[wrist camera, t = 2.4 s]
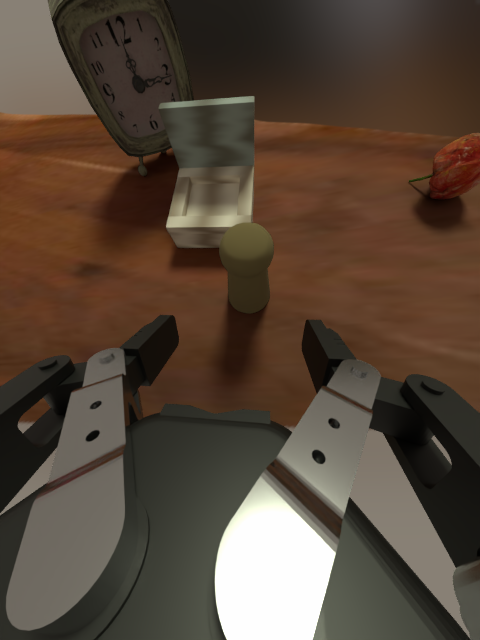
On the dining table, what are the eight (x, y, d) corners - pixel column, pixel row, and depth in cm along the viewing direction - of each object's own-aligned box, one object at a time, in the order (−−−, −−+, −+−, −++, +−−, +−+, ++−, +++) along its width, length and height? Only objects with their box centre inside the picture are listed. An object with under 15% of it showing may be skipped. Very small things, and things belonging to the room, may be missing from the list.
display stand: (254, 186, 32) (254, 96, 22) (251, 247, 28) (249, 172, 18) (189, 188, 34) (160, 103, 23) (177, 247, 30) (136, 176, 19)
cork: (237, 320, 25) (226, 278, 15) (221, 285, 27) (201, 226, 16) (277, 302, 25) (293, 250, 15) (258, 269, 27) (261, 201, 17)
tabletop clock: (138, 184, 35) (-108, -226, 11) (128, 157, 38) (-85, -217, 14) (207, 158, 36) (116, -274, 12) (192, 133, 39) (95, -257, 15)
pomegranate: (396, 212, 31) (489, 201, 23) (400, 161, 27) (515, 127, 19) (417, 194, 33) (510, 177, 25) (424, 143, 29) (537, 105, 21)
